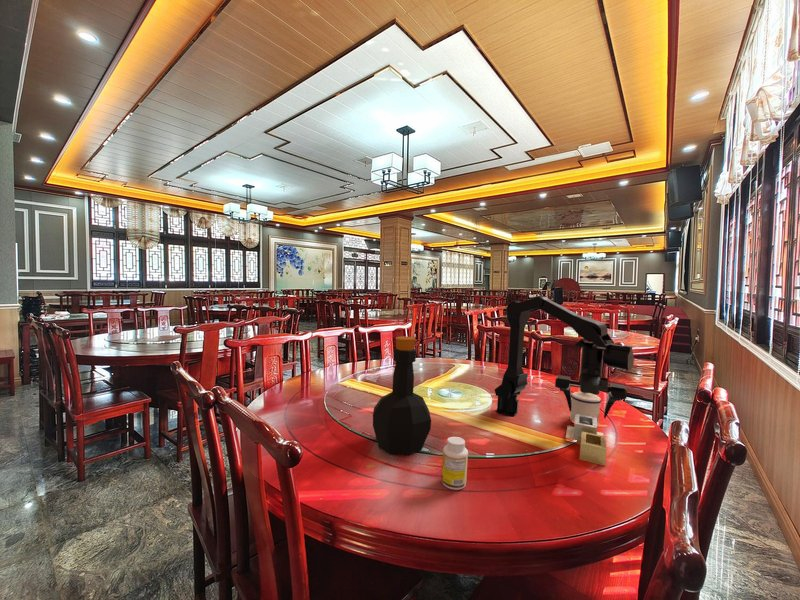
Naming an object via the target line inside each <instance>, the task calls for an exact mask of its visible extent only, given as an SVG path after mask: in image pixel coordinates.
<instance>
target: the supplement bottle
mask: <svg viewBox="0 0 800 600" xmlns="http://www.w3.org/2000/svg"><path fill="white" fill-rule="evenodd" d="M442 450H443V451H442V466H441V467H442V470H441V471H442V472H441V482H442V484H443V486H444V487H446V488H448V489H450V490H452V491H454V490H455V491H459V490H463V489H464V488H465V487H466V485H467V480H468V479H467V475H468V474H467V473H468V460H469V459H468V457H469V451H468V449H467V448H466V441H465V439H464V438H462V437H458V436H450V437H448V438H447V441H446V445H445V446H444V447H443V449H442Z"/></svg>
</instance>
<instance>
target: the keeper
mask: <svg viewBox="0 0 800 600" xmlns="http://www.w3.org/2000/svg"><path fill="white" fill-rule="evenodd" d="M582 424H587V425H589V424H590V423H589V422H587V421H582ZM566 427H567V428H566V432H565V434H566V435H565V439H566V438H569V439H575V438H573V434H574V426H572V425H571V426H570V425H567V426H566ZM597 435H601V436H604V433H603V432H599V431H597ZM575 440H577V443H576V444H578V445H580V444H581V440H579V439H575Z"/></svg>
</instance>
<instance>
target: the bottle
mask: <svg viewBox="0 0 800 600" xmlns="http://www.w3.org/2000/svg"><path fill="white" fill-rule="evenodd" d="M415 344H416V337H415V336H414V337H413V336H405V335H400V336H396V337H395V348H393V357H392V358H393V361H395V363H394V364H395V365H394V370H393V373H392V375H393V376H392V391H391V392H389V393H387V394H385V395H383V396H381V397H380V399H379V400H378V402H377V403H376V404H375V405H374V407H373V413H372V429H373V432H374V435H375V438H376V442H377V445H378V449H379V450H382V451H383V452H385V453H387V454H389V455H394V456H395V455H396V456H410V455H413V454H415V453H417V452H420V451H422V450H423V448H424V445H425V443H426V440H427V438H428V436H429V433H430V431H431V428H432V427H431V426H432V417H431V414H430V410H429V408H428V406H427V403H426V401H425V399H424V398H423V396H421V395H419V394H417V393H415V392H414V385H415V375H414V372H415V371H414V362H416V361H417V360H416V359H417V358H416V357H417V350H416V348H415Z"/></svg>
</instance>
